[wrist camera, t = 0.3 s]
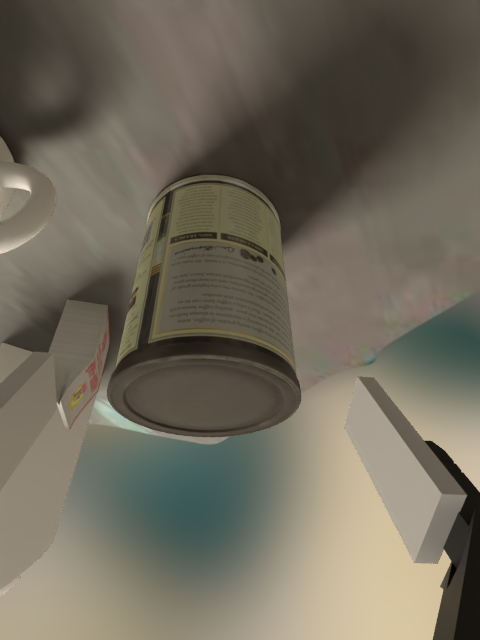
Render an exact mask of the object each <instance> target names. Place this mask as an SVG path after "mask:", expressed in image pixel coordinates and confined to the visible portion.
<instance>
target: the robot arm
mask: <svg viewBox="0 0 480 640" xmlns="http://www.w3.org/2000/svg"><path fill="white" fill-rule="evenodd" d="M56 410H57V400H56V385H55V369H54V354H53V353H46V352H33V353H32V354H31V355H30V356H29V357H28V358H27V359H26V360H25V361H24V362H23V363H21V364H20V365H19V366H18V367H17V368H16V369H15V370H14V371H13V372H12V373H11V374H10V375H9V376H8V377H7V378H6V379H4V380H3V381H2V382H1V383H0V491H1V489H2V488H3V486H4V485H5V484H6V482H7V481H8V479H9V478H10V476H11V475H12V474H13V472H14V471H15V469H16V468H17V466H18V465H19V463H20V462H21V461H22V459H23V458H24V456H25V455H26V453H27V452H28V451H29V449H30V448H31V446H32V445H33V443H34V442H35V440H36V439H37V438H38V436H39V435H40V433H41V432H42V430H43V429H44V428H45V426H46V425H47V423H48V422H49V420H50V419H51V417H52V416H53V415H54V413H55V412H56ZM345 430H346V431H347V433H348V435H349V437H350V439H351V441H352V443H353V445H354V447H355V449H356V451H357V453H358V455H359V457H360V459H361V461H362V462H363V464H364V466H365V468H366V470H367V472H368V474H369V476H370V478H371V480H372V482H373V484H374V486H375V488H376V490H377V491H378V494H379V495H380V497H381V499H382V501H383V503H384V505H385V507H386V509H387V511H388V513H389V515H390V517H391V519H392V521H393V523H394V525H395V526H396V528H397V530H398V532H399V534H400V536H401V538H402V540H403V542H404V544H405V546H406V548H407V550H408V551H409V554H410V556H411V558H412V559H413V561H414V563H433V564H436V563H437V564H438V562H439V560H440V557H441V555H442V552H443V550H445V551H446V553H447V554H448V556H449V558H450V559H451V561H452V562H451V564H450V566H449V569H448V571H447V573H446V575H445V577H444V580H443V582H442V584H441V586H440V587H441V588H443V589H444V590H443V595H442V599H441V604H440V609H439V613H438V618H437V623H436V627H435V632H434V636H433V640H480V492H479V491H478V490H477V489H476V487H475V486H474V485H473V484H472V483H471V481H469V479H468V478H467V477H466V476H465V474H464V473H462V472H461V470H460V468H459V467H458V466H457V465H456V464H454V461H453V460H452V459H451V458H450V457H449V455H448V454H447V453H446V452H445V451H444V450H443V449H442V448H440V447H439V446H438V445H436V444H435V443H433V442H432V441H424V440H423V439H422V438H421V436H420V435H419V434H418V433H417V431H416V430H415V429H414V428H413V426H412V425H411V424H410V422H409V421H408V420H407V419H406V417H405V416H404V415H403V414H402V412H401V411H400V410H399V409H398V407H397V406H396V405H395V404H394V402H393V401H392V400H391V399H390V397H389V396H388V395H387V394H386V393H385V391H384V390H383V388H382V387H381V386H380V385H379V383H378V382H377V381H376V380H375V379H374V378H372V377H359V376H358V377H357V381H356V385H355V388H354V392H353V396H352V400H351V404H350V408H349V412H348V416H347V419H346V423H345Z"/></svg>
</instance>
